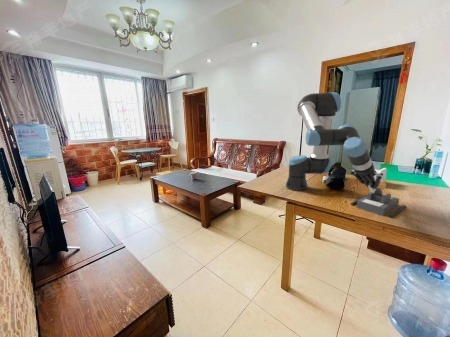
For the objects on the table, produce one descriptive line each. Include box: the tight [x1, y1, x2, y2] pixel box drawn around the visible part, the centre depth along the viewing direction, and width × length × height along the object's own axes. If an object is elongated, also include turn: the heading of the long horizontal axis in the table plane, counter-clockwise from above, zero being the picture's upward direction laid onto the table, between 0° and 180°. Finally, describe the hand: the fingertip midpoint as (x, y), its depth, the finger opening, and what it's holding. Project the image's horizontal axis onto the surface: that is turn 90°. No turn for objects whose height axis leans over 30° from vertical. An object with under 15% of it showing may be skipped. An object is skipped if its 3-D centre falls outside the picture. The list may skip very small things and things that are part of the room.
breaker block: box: [356, 192, 400, 216], centre depth 104 cm, size 20×12×8 cm, turn 122°
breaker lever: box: [374, 182, 387, 199], centre depth 101 cm, size 2×7×13 cm
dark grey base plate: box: [350, 194, 407, 219], centre depth 105 cm, size 18×19×1 cm
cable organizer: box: [374, 167, 388, 183], centre depth 139 cm, size 15×11×12 cm
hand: (373, 190), depth 98 cm, fingers closed
